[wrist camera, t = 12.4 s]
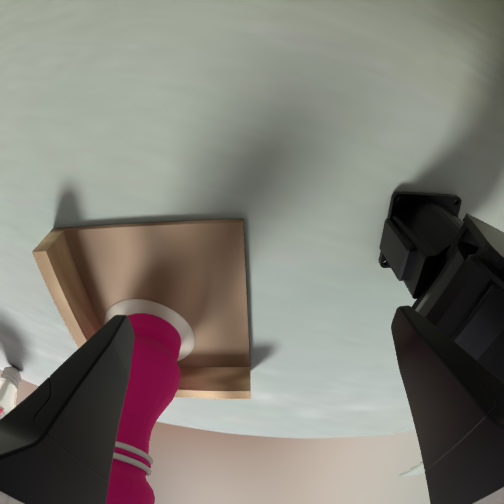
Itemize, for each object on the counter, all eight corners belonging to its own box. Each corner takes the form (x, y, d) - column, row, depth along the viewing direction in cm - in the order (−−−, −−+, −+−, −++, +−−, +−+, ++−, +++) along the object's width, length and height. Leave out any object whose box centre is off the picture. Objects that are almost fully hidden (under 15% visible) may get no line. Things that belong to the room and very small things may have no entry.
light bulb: (39, 376, 35) (12, 442, 25) (28, 386, 38) (5, 445, 28) (2, 347, 33) (-30, 412, 22) (-5, 361, 35) (-33, 419, 25)
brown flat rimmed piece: (243, 219, 22) (242, 245, 19) (250, 371, 32) (250, 398, 29) (52, 228, 22) (32, 251, 20) (112, 365, 32) (104, 389, 29)
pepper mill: (108, 341, 29) (54, 524, 12) (123, 296, 26) (50, 525, 9) (172, 366, 31) (145, 551, 14) (198, 327, 28) (172, 557, 11)
